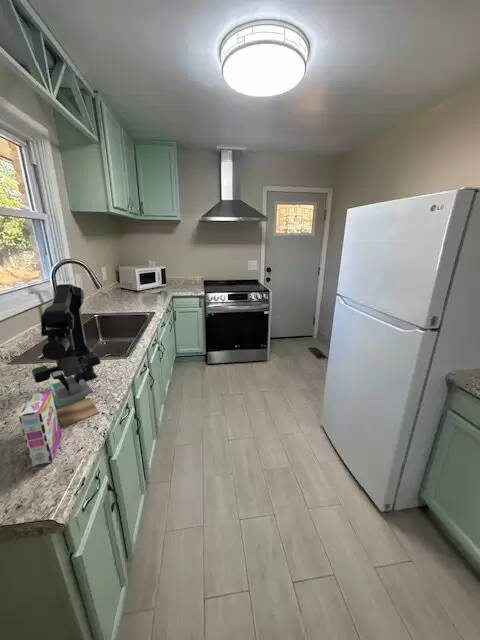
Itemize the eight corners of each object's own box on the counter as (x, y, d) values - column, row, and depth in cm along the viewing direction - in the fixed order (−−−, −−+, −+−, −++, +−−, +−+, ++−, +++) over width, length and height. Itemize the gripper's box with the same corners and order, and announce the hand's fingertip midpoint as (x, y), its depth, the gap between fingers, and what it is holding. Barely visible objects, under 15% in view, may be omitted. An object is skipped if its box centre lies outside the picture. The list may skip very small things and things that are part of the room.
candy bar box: (53, 462, 74) (40, 412, 69) (32, 467, 72) (16, 416, 67) (63, 435, 84) (52, 389, 79) (44, 439, 82) (32, 393, 77)
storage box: (52, 397, 103) (49, 384, 102) (78, 388, 109) (75, 376, 108) (58, 408, 97) (54, 395, 95) (85, 398, 103) (83, 385, 101)
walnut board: (55, 411, 95) (55, 410, 95) (89, 398, 103) (89, 397, 102) (63, 427, 87) (63, 426, 87) (99, 412, 94) (99, 411, 94)
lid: (54, 393, 93) (51, 379, 91) (84, 383, 99) (81, 370, 98) (61, 407, 86) (58, 392, 84) (93, 395, 92) (90, 381, 91)
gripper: (32, 364, 75) (44, 411, 80) (102, 346, 88) (109, 387, 93) (26, 352, 83) (37, 395, 88) (91, 337, 95) (98, 375, 100)
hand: (72, 388), depth 92 cm, fingers closed on lid, 2 cm apart
